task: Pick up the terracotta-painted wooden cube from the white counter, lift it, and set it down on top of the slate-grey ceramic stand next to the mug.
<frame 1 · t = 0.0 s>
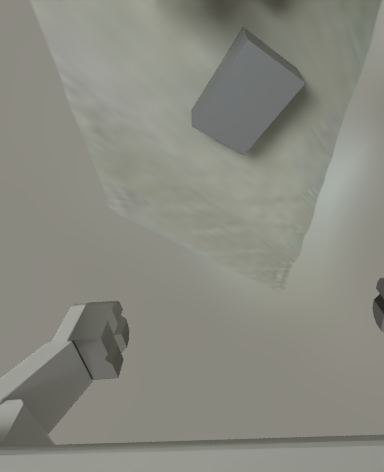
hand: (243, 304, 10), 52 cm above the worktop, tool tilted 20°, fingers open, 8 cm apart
stand: (241, 90, 56), on the worktop
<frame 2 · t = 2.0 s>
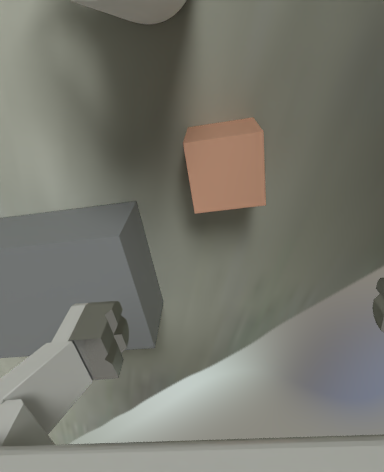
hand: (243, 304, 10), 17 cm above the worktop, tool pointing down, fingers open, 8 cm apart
cube: (223, 154, 24), on the worktop
stand: (74, 264, 31), on the worktop
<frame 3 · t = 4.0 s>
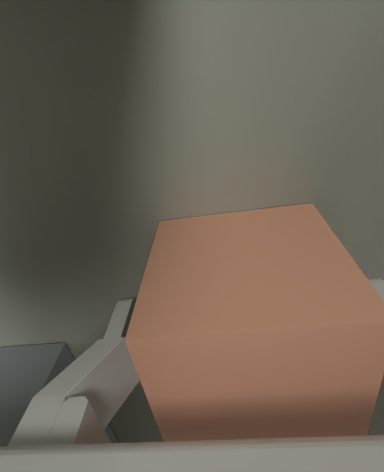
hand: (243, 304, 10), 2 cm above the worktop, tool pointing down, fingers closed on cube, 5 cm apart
cube: (239, 272, 11), on the worktop, touching gripper
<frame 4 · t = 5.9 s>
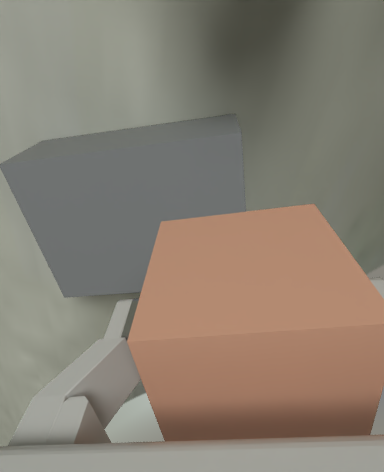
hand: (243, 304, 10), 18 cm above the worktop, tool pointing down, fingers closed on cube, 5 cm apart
cube: (240, 273, 11), point 16 cm above the worktop, touching gripper
stand: (150, 196, 27), on the worktop
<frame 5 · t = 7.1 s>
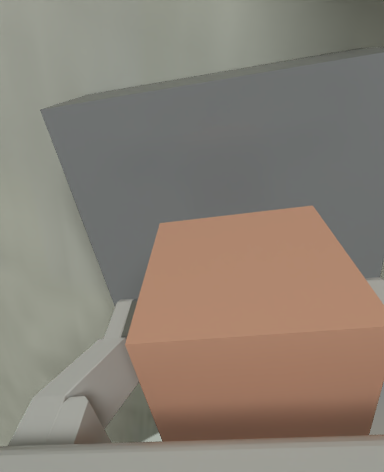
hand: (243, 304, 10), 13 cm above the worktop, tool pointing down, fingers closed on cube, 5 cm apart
cube: (239, 274, 11), point 11 cm above the worktop, touching gripper
stand: (225, 171, 21), on the worktop
when the fingers open (9 cm above the worktop, at t = 8.1 s): cube drops 1 cm, resting on stand.
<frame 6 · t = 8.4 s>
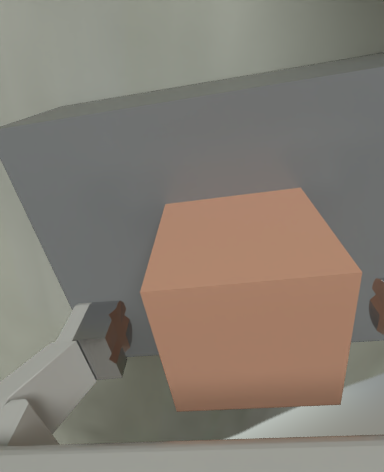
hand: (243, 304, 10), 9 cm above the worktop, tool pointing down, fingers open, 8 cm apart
cube: (236, 251, 12), point 6 cm above the worktop, touching stand
stand: (227, 195, 18), on the worktop
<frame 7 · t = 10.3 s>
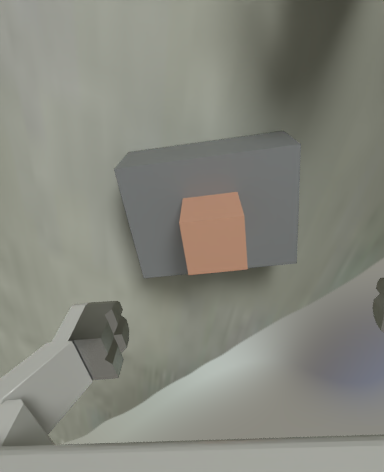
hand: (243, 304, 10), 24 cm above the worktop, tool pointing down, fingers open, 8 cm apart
cube: (212, 219, 28), point 6 cm above the worktop, touching stand
stand: (210, 196, 34), on the worktop
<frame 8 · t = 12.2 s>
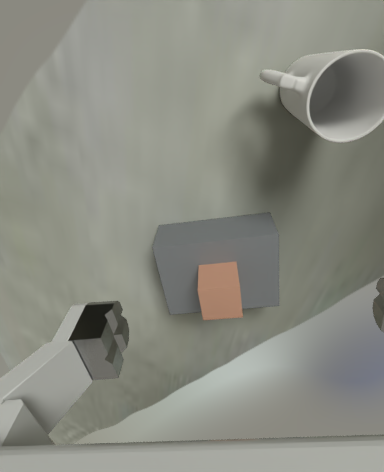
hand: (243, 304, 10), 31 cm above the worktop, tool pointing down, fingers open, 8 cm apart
cube: (219, 278, 41), point 6 cm above the worktop, touching stand
stand: (217, 253, 46), on the worktop
mug: (293, 82, 34), on the worktop
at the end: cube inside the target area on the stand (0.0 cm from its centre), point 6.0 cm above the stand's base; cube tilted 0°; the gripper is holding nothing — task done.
